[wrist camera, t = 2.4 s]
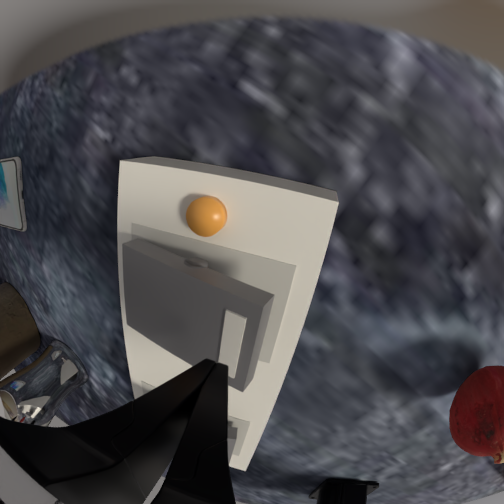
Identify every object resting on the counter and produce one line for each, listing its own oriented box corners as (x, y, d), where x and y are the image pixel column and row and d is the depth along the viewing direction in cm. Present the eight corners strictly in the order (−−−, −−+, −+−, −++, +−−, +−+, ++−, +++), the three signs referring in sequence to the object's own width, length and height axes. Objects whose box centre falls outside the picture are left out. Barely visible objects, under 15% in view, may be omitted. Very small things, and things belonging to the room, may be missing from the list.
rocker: (257, 372, 12) (241, 393, 11) (145, 312, 15) (125, 325, 14) (279, 289, 11) (262, 308, 9) (145, 235, 13) (120, 243, 12)
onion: (427, 378, 15) (447, 476, 8) (492, 327, 13) (541, 414, 6) (455, 409, 16) (472, 490, 8) (511, 367, 13) (545, 442, 6)
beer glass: (42, 329, 25) (-43, 399, 12) (79, 348, 24) (-15, 438, 10) (61, 372, 28) (-9, 442, 14) (98, 393, 26) (25, 478, 13)
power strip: (243, 469, 25) (234, 495, 21) (160, 439, 26) (147, 461, 23) (336, 191, 13) (339, 205, 10) (153, 156, 15) (112, 161, 12)
